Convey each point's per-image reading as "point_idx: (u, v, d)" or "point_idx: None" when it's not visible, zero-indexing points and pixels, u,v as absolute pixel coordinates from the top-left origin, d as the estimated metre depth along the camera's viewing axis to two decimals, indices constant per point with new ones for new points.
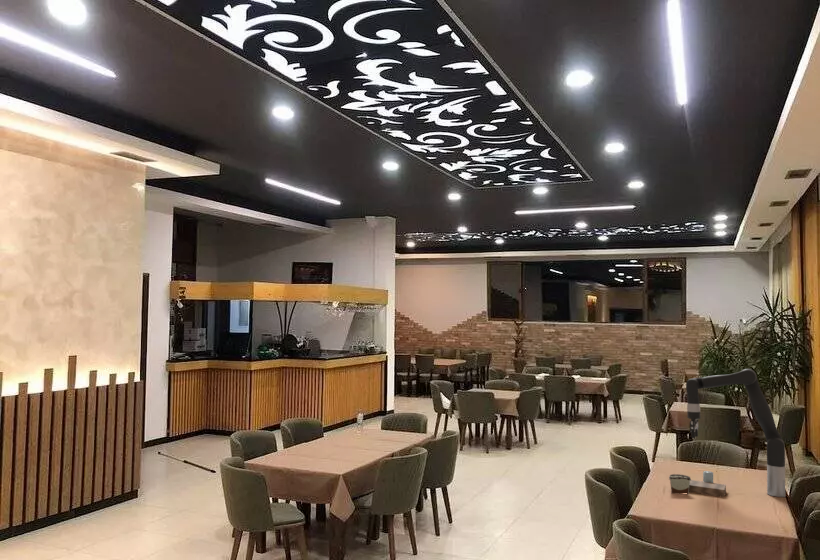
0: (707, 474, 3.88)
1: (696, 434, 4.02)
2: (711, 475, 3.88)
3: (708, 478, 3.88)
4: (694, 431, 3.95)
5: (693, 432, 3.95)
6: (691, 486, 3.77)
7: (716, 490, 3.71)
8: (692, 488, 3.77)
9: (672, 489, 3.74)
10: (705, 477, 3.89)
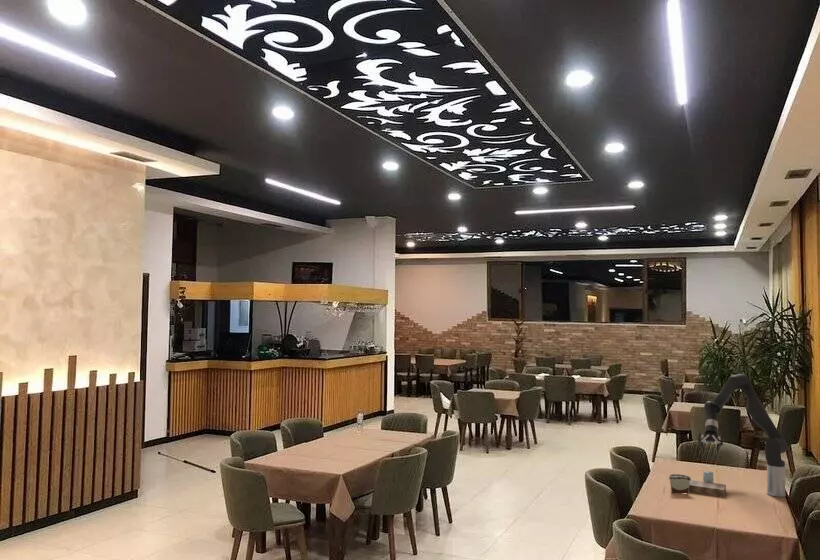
0: (707, 474, 3.88)
1: None
2: (711, 475, 3.88)
3: (708, 478, 3.88)
4: (701, 441, 4.06)
5: None
6: (691, 486, 3.77)
7: (716, 490, 3.71)
8: (692, 488, 3.77)
9: (672, 489, 3.74)
10: (705, 477, 3.89)
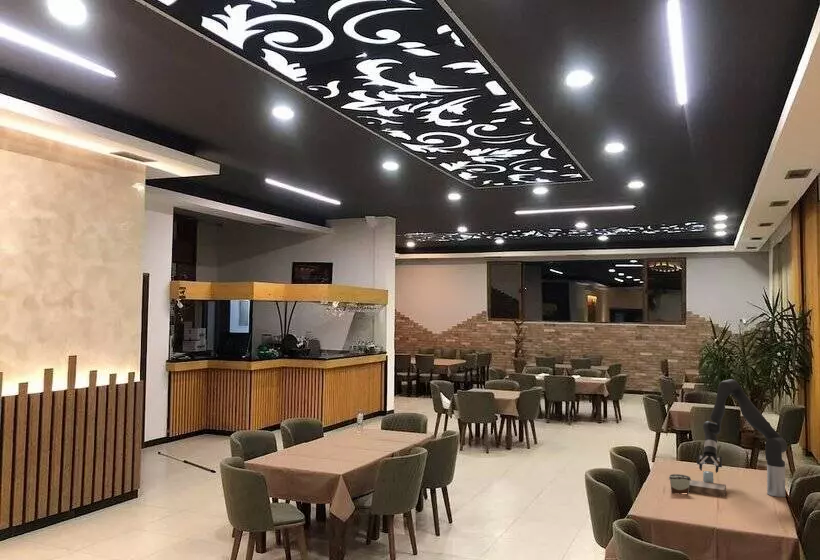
0: (707, 474, 3.88)
1: None
2: (711, 475, 3.88)
3: (708, 478, 3.88)
4: (699, 463, 3.98)
5: (699, 464, 3.98)
6: (691, 486, 3.77)
7: (716, 490, 3.71)
8: (692, 488, 3.77)
9: (672, 489, 3.74)
10: (705, 477, 3.89)
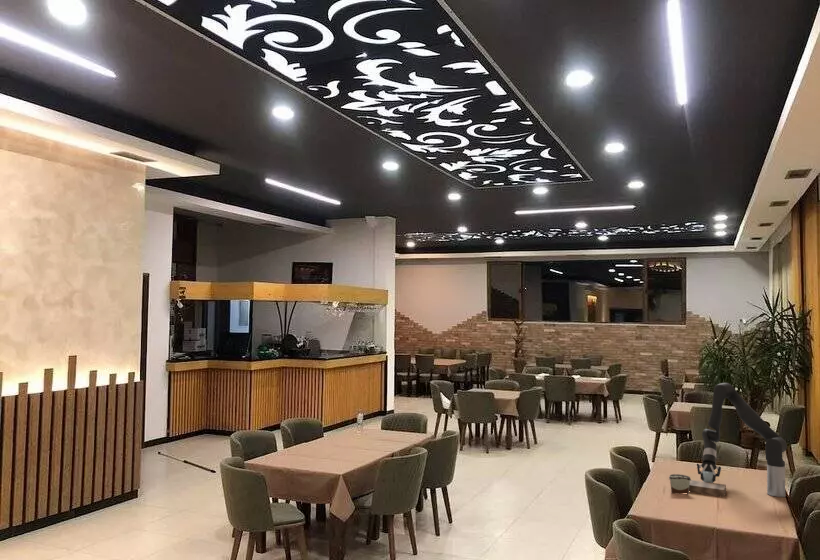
0: (707, 474, 3.88)
1: None
2: (711, 475, 3.88)
3: (708, 478, 3.88)
4: (701, 472, 3.93)
5: (700, 474, 3.93)
6: (691, 486, 3.77)
7: (716, 490, 3.71)
8: (692, 488, 3.77)
9: (672, 489, 3.74)
10: (705, 477, 3.89)
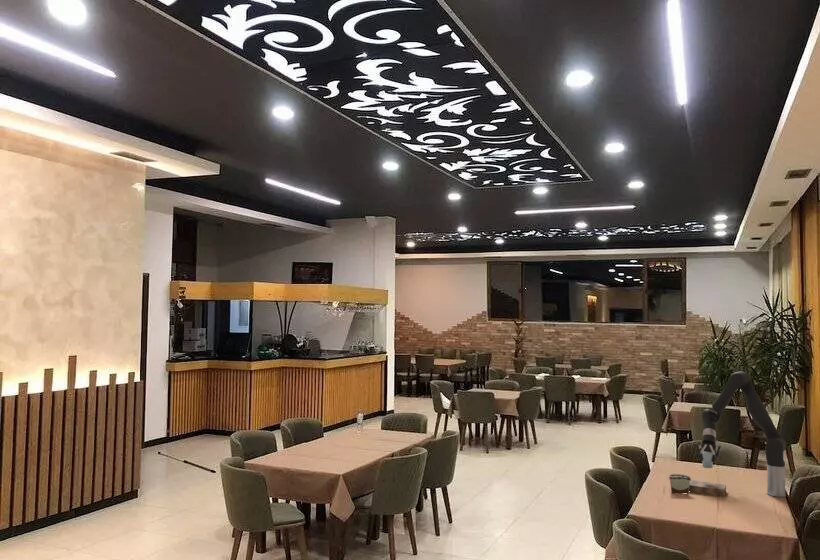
0: (706, 454, 3.86)
1: (712, 459, 3.85)
2: (710, 455, 3.85)
3: (707, 458, 3.85)
4: (700, 453, 3.90)
5: (700, 454, 3.90)
6: (691, 486, 3.77)
7: (716, 490, 3.71)
8: (692, 488, 3.77)
9: (672, 489, 3.74)
10: (704, 457, 3.86)
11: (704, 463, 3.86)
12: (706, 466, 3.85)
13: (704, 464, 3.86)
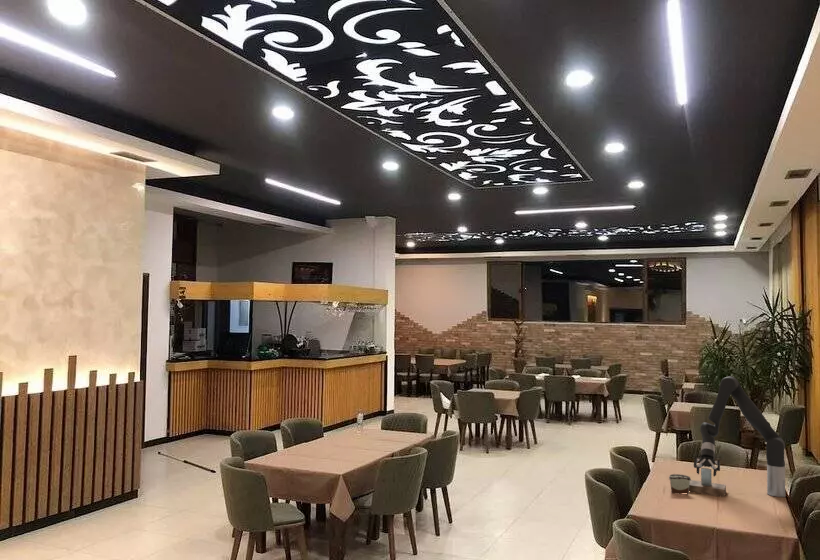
0: (705, 472, 3.78)
1: None
2: (709, 472, 3.78)
3: (706, 475, 3.78)
4: (697, 466, 3.84)
5: (696, 467, 3.84)
6: (691, 486, 3.77)
7: (716, 490, 3.71)
8: (692, 488, 3.77)
9: (672, 489, 3.74)
10: (703, 474, 3.79)
11: (703, 480, 3.79)
12: (705, 484, 3.78)
13: (703, 482, 3.79)
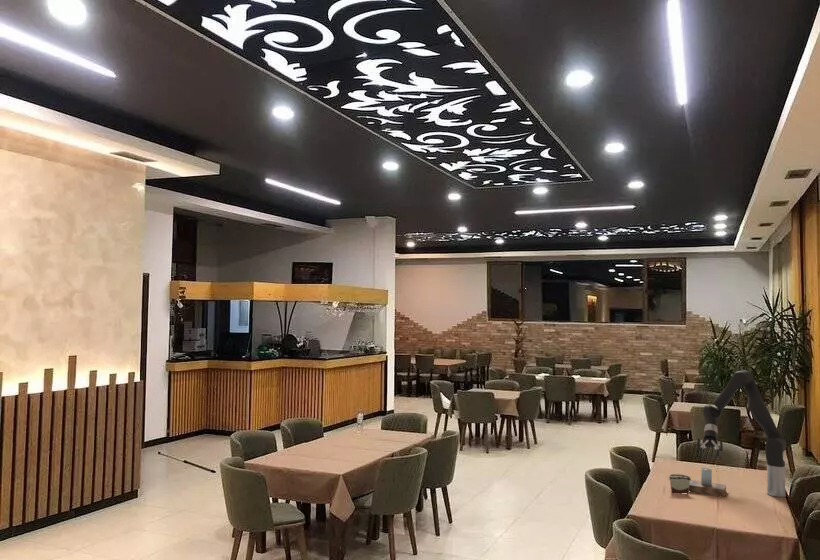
0: (705, 472, 3.78)
1: None
2: (709, 472, 3.78)
3: (706, 475, 3.78)
4: (700, 447, 3.93)
5: (700, 448, 3.93)
6: (691, 486, 3.77)
7: (716, 490, 3.71)
8: (692, 488, 3.77)
9: (672, 489, 3.74)
10: (703, 474, 3.79)
11: (703, 480, 3.79)
12: (705, 484, 3.78)
13: (703, 481, 3.79)
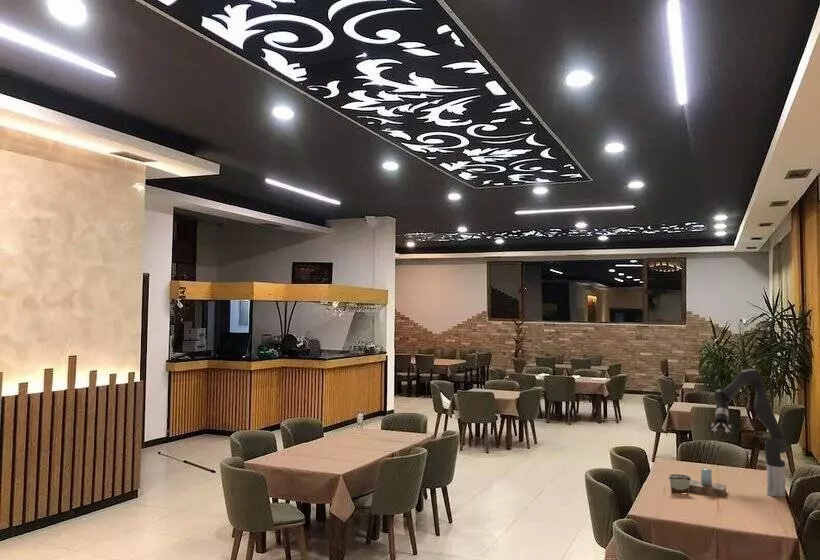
0: (705, 472, 3.78)
1: None
2: (709, 472, 3.78)
3: (706, 475, 3.78)
4: (711, 430, 4.04)
5: (711, 431, 4.04)
6: (691, 486, 3.77)
7: (716, 490, 3.71)
8: (692, 488, 3.77)
9: (672, 489, 3.74)
10: (703, 474, 3.79)
11: (703, 481, 3.79)
12: (705, 484, 3.78)
13: (703, 482, 3.79)
